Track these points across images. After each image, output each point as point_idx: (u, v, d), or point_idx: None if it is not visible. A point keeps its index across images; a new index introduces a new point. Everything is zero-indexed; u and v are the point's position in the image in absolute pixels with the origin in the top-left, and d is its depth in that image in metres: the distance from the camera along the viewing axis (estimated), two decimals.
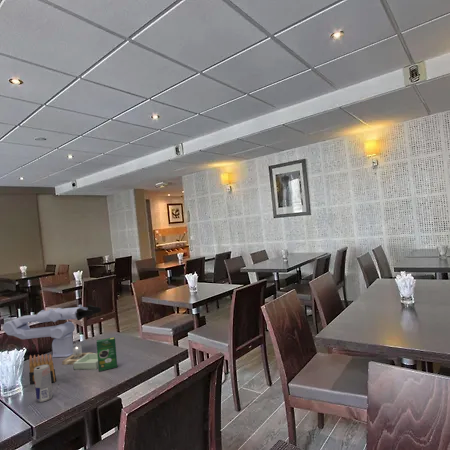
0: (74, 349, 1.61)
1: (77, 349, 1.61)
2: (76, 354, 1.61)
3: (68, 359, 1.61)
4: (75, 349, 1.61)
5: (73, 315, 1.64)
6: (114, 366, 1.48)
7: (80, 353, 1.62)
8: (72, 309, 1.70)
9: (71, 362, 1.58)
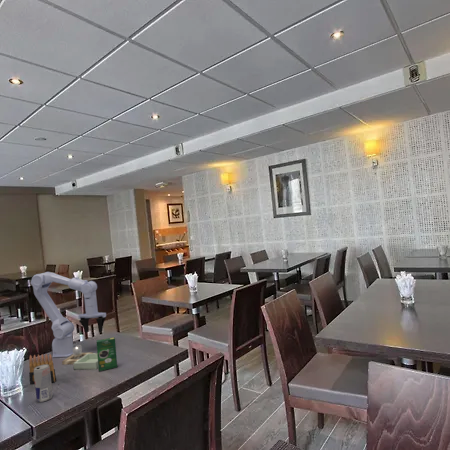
0: (74, 349, 1.61)
1: (77, 349, 1.61)
2: (76, 354, 1.61)
3: (68, 359, 1.61)
4: (75, 349, 1.61)
5: (105, 315, 1.71)
6: (114, 366, 1.48)
7: (80, 353, 1.62)
8: None
9: (71, 362, 1.58)
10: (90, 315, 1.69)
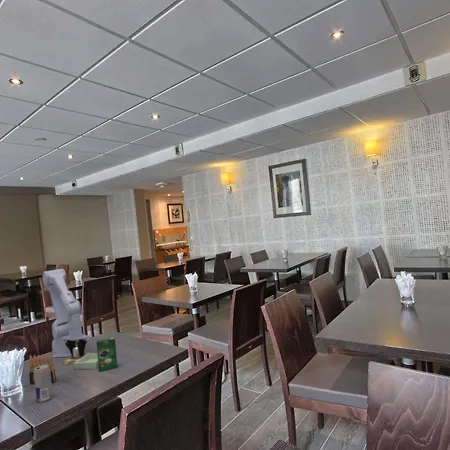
0: (74, 349, 1.61)
1: (77, 349, 1.61)
2: (76, 354, 1.61)
3: (68, 359, 1.61)
4: (75, 349, 1.61)
5: (89, 338, 1.61)
6: (114, 366, 1.48)
7: None
8: None
9: (71, 362, 1.58)
10: (73, 338, 1.60)
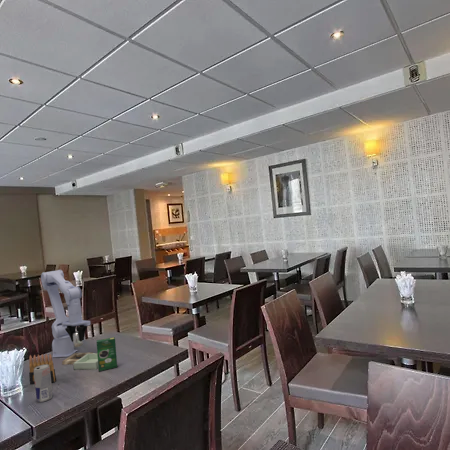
0: (74, 334, 1.60)
1: (77, 334, 1.60)
2: (76, 339, 1.60)
3: (68, 359, 1.61)
4: (75, 334, 1.60)
5: (89, 323, 1.60)
6: (114, 366, 1.48)
7: None
8: None
9: (71, 362, 1.58)
10: (73, 323, 1.59)
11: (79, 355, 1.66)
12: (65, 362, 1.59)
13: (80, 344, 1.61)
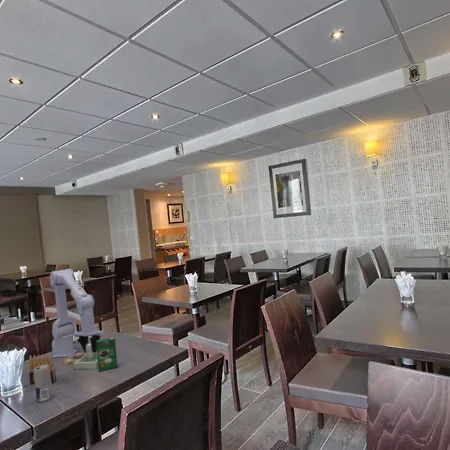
0: (87, 345, 1.53)
1: (90, 345, 1.54)
2: (89, 350, 1.53)
3: (68, 359, 1.61)
4: (88, 345, 1.53)
5: (103, 333, 1.54)
6: (114, 366, 1.48)
7: None
8: None
9: (71, 362, 1.58)
10: (86, 334, 1.52)
11: (79, 355, 1.66)
12: (65, 362, 1.59)
13: (93, 355, 1.54)
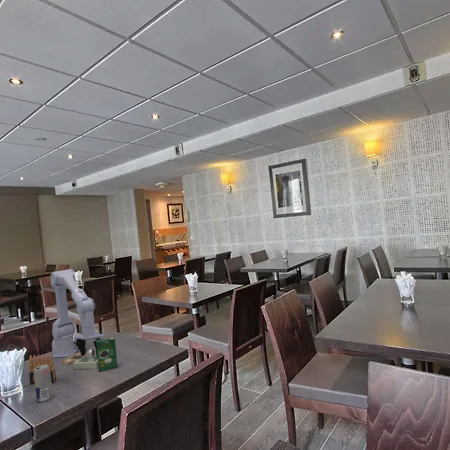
0: (88, 352, 1.53)
1: (91, 352, 1.54)
2: (90, 357, 1.53)
3: (68, 359, 1.61)
4: (89, 352, 1.53)
5: (103, 337, 1.54)
6: (114, 366, 1.48)
7: (94, 355, 1.54)
8: None
9: (71, 362, 1.58)
10: (87, 337, 1.52)
11: (79, 355, 1.66)
12: (65, 362, 1.59)
13: None
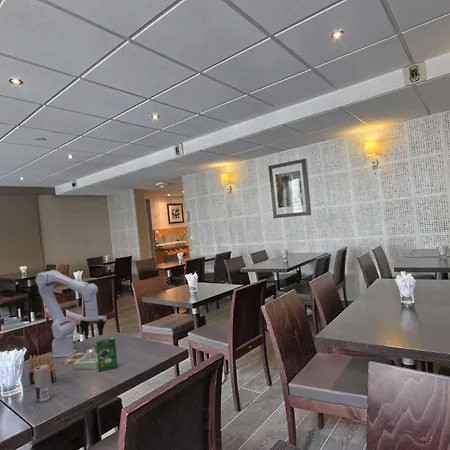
0: (88, 352, 1.53)
1: (91, 352, 1.54)
2: (90, 357, 1.53)
3: (68, 359, 1.61)
4: (89, 352, 1.53)
5: (105, 318, 1.68)
6: (114, 366, 1.48)
7: (94, 355, 1.54)
8: None
9: (71, 362, 1.58)
10: (90, 318, 1.66)
11: (79, 355, 1.66)
12: (65, 362, 1.59)
13: None
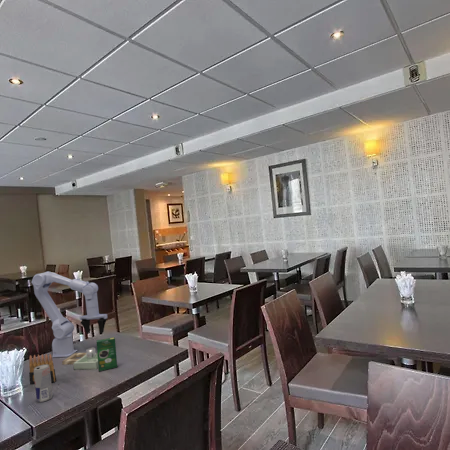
0: (88, 352, 1.53)
1: (91, 352, 1.54)
2: (90, 357, 1.53)
3: (68, 359, 1.61)
4: (89, 352, 1.53)
5: (106, 316, 1.71)
6: (114, 366, 1.48)
7: (94, 355, 1.54)
8: None
9: (71, 362, 1.58)
10: (91, 316, 1.69)
11: (79, 355, 1.66)
12: (65, 362, 1.59)
13: None
